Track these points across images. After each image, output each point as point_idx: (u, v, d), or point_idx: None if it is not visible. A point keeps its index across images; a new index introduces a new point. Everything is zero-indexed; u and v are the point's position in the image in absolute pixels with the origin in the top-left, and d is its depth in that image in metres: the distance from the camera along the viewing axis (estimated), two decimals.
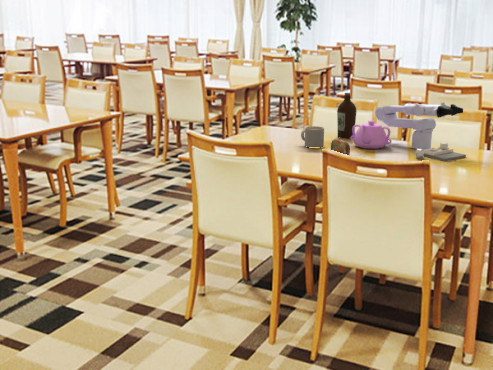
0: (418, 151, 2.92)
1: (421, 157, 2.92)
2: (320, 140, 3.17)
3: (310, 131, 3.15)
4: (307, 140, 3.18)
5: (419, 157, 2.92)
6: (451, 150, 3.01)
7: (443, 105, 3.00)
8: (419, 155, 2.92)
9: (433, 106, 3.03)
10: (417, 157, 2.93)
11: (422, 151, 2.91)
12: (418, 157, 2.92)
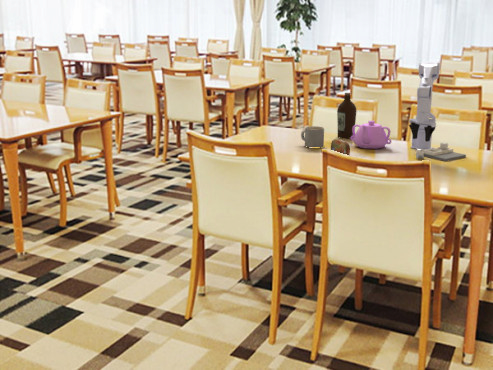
0: (418, 151, 2.92)
1: (421, 157, 2.92)
2: (320, 140, 3.17)
3: (310, 131, 3.15)
4: (307, 140, 3.18)
5: (419, 157, 2.92)
6: (451, 150, 3.01)
7: (418, 123, 2.88)
8: (419, 155, 2.92)
9: (417, 112, 2.88)
10: (417, 157, 2.93)
11: (422, 151, 2.91)
12: (418, 157, 2.92)
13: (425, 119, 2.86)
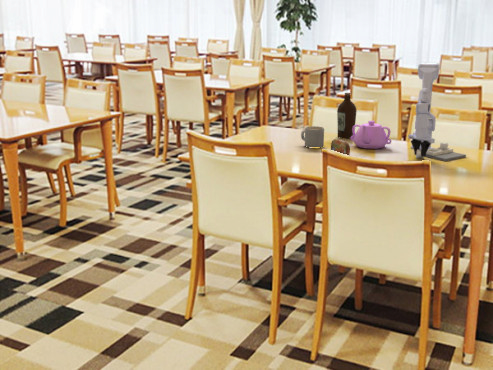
0: (418, 151, 2.92)
1: (421, 157, 2.92)
2: (320, 140, 3.17)
3: (310, 131, 3.15)
4: (307, 140, 3.18)
5: (419, 157, 2.92)
6: (451, 150, 3.01)
7: (417, 138, 2.90)
8: (419, 155, 2.92)
9: (415, 128, 2.90)
10: (417, 157, 2.93)
11: None
12: (418, 157, 2.92)
13: (424, 135, 2.88)
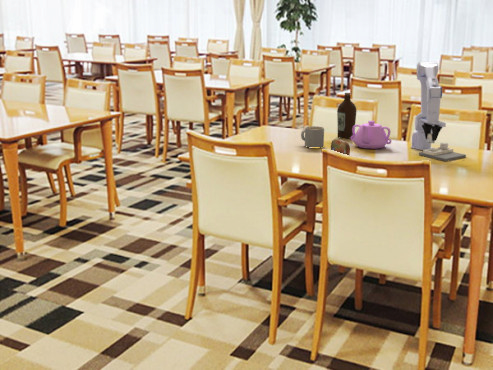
0: (429, 135, 2.94)
1: (432, 141, 2.94)
2: (320, 140, 3.17)
3: (310, 131, 3.15)
4: (307, 140, 3.18)
5: (430, 141, 2.94)
6: (451, 150, 3.01)
7: (428, 123, 2.92)
8: (430, 139, 2.94)
9: (427, 112, 2.92)
10: (428, 141, 2.95)
11: None
12: (429, 141, 2.94)
13: (435, 119, 2.90)
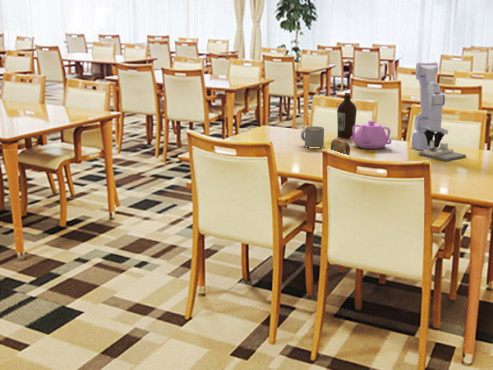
0: (431, 142, 2.95)
1: (434, 148, 2.96)
2: (320, 140, 3.17)
3: (310, 131, 3.15)
4: (307, 140, 3.18)
5: (432, 148, 2.96)
6: (451, 150, 3.01)
7: (431, 130, 2.94)
8: (433, 146, 2.95)
9: (429, 120, 2.94)
10: (430, 148, 2.97)
11: None
12: (431, 148, 2.96)
13: (437, 126, 2.92)
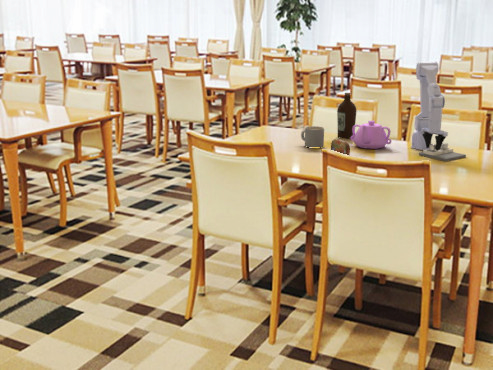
0: (431, 146, 2.96)
1: None
2: (320, 140, 3.17)
3: (310, 131, 3.15)
4: (307, 140, 3.18)
5: None
6: (451, 150, 3.01)
7: None
8: (432, 150, 2.96)
9: (429, 122, 2.94)
10: None
11: (435, 146, 2.96)
12: None
13: (437, 129, 2.92)
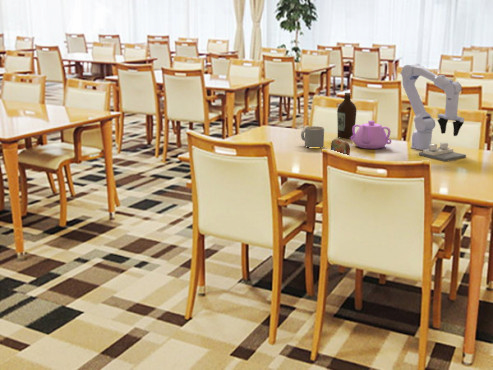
0: (431, 146, 2.96)
1: None
2: (320, 140, 3.17)
3: (310, 131, 3.15)
4: (307, 140, 3.18)
5: None
6: (451, 150, 3.01)
7: (447, 118, 2.98)
8: (432, 150, 2.96)
9: (445, 108, 2.99)
10: None
11: (435, 146, 2.96)
12: None
13: (453, 114, 2.96)
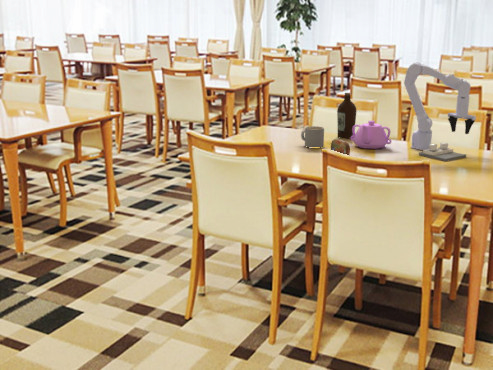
0: (431, 146, 2.96)
1: None
2: (320, 140, 3.17)
3: (310, 131, 3.15)
4: (307, 140, 3.18)
5: None
6: (451, 150, 3.01)
7: (458, 116, 3.02)
8: (432, 150, 2.96)
9: (456, 106, 3.03)
10: None
11: (435, 146, 2.96)
12: None
13: (465, 113, 3.01)
